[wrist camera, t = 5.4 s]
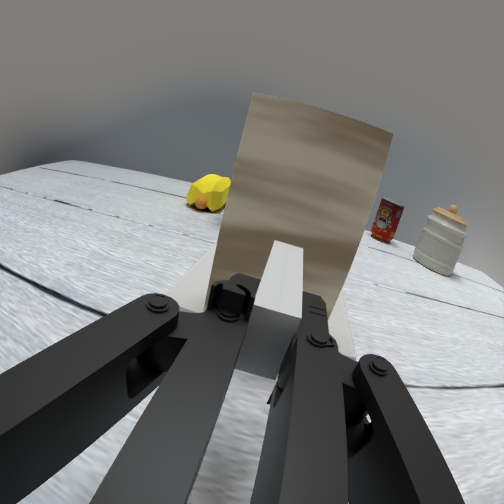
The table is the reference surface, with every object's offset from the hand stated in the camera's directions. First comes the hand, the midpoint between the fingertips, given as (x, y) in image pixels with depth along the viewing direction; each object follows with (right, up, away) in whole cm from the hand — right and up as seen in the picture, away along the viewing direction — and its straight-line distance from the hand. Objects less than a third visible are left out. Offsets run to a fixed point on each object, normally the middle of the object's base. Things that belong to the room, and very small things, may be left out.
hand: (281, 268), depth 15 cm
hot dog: (-11, +11, +49) cm, 51 cm away
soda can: (+35, +4, +62) cm, 71 cm away
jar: (+47, -3, +51) cm, 69 cm away
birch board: (-1, -5, +10) cm, 12 cm away
